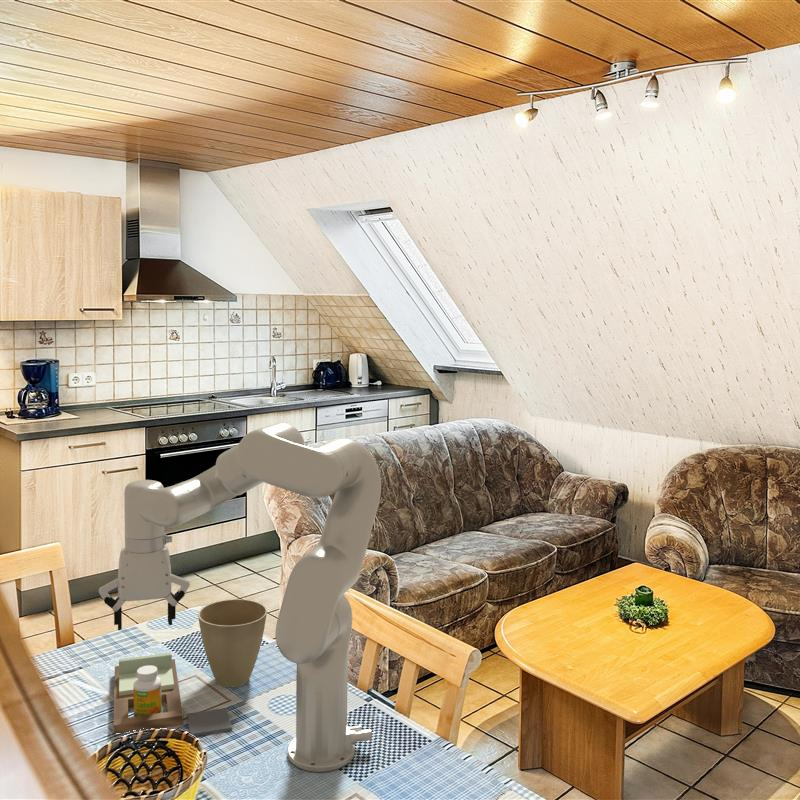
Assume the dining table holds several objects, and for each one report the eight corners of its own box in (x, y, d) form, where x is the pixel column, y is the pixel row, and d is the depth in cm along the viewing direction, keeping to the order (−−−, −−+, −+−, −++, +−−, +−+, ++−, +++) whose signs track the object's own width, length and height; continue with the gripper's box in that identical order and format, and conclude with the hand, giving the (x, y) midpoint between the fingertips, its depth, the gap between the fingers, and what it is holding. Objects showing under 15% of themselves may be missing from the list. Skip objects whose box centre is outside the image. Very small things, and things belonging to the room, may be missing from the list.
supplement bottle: (133, 723, 159) (132, 677, 157) (134, 709, 164) (133, 665, 163) (161, 719, 160) (160, 674, 159) (162, 706, 165) (161, 662, 164)
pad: (226, 710, 164) (226, 707, 164) (231, 730, 157) (231, 727, 157) (187, 716, 162) (186, 713, 161) (190, 736, 154) (190, 734, 154)
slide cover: (171, 669, 177) (171, 652, 176) (174, 688, 169) (173, 670, 168) (119, 676, 173) (118, 659, 173) (119, 696, 165) (118, 677, 164)
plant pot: (186, 691, 172) (185, 620, 170) (217, 661, 186) (217, 596, 184) (250, 700, 168) (249, 628, 166) (277, 669, 183) (277, 603, 181)
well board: (174, 667, 183) (174, 658, 182) (182, 724, 158) (182, 715, 158) (114, 674, 178) (114, 666, 178) (113, 735, 154) (113, 725, 154)
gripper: (188, 534, 164) (188, 613, 166) (98, 540, 158) (99, 622, 160) (191, 545, 156) (190, 628, 159) (97, 552, 151) (98, 637, 153)
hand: (145, 625), depth 159 cm, fingers open, 9 cm apart
